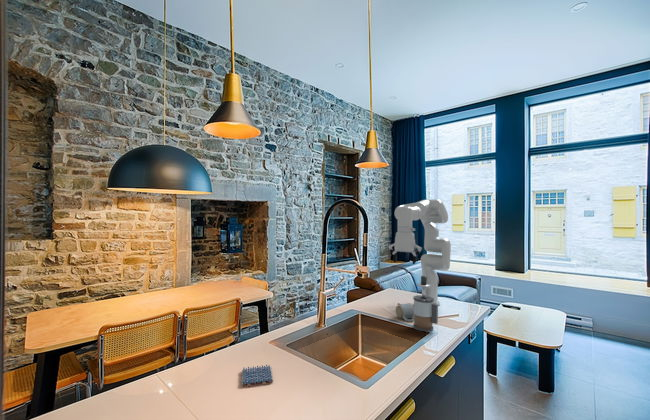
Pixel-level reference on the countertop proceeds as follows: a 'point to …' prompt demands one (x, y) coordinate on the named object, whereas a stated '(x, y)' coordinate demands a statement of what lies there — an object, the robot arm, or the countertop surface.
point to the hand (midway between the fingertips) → (404, 262)
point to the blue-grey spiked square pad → (260, 371)
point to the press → (425, 313)
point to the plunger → (423, 285)
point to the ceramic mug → (405, 311)
